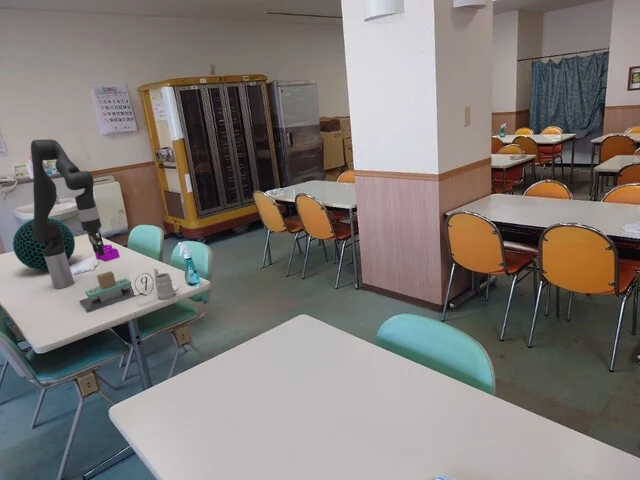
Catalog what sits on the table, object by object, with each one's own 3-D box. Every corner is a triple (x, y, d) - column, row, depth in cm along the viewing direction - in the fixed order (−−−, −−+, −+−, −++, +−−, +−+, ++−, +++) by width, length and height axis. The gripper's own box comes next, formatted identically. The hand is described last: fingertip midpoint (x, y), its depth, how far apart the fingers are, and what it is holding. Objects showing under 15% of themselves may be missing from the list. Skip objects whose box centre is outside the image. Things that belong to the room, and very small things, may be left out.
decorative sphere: (83, 255, 278) (70, 208, 270) (77, 270, 251) (61, 218, 242) (29, 266, 269) (13, 218, 260) (16, 282, 242) (-2, 229, 233)
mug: (162, 301, 195) (156, 275, 191) (151, 295, 203) (145, 270, 200) (178, 295, 200) (172, 270, 196) (167, 289, 208) (161, 265, 205)
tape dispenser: (94, 258, 271) (91, 248, 269) (110, 253, 278) (107, 243, 276) (104, 262, 260) (101, 252, 258) (121, 257, 267) (118, 247, 265)
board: (126, 281, 212) (122, 266, 209) (132, 285, 205) (128, 269, 203) (85, 294, 201) (81, 278, 199) (90, 298, 195) (85, 282, 193)
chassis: (80, 303, 203) (76, 290, 201) (133, 286, 217) (130, 273, 215) (87, 312, 192) (83, 298, 190) (143, 293, 206) (139, 280, 204)
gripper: (103, 218, 190) (112, 254, 195) (94, 214, 201) (104, 248, 206) (84, 222, 186) (94, 259, 191) (76, 218, 196) (86, 253, 201)
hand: (99, 253), depth 198 cm, fingers open, 8 cm apart
